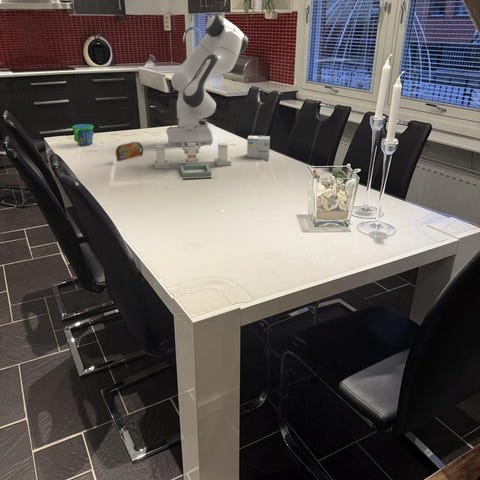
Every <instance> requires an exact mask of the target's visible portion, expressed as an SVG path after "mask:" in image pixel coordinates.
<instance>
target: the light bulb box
mask: <svg viewBox="0 0 480 480" xmlns="http://www.w3.org/2000/svg"><path fill="white" fill-rule="evenodd" d="M270 139H271V136H270V135H268V136H267V135H248V137H247V141H246V143H247V147H246V148H247V149H246V150H247V151H246V152H247V153H246V158H260V159H262V161H269V159H270V143H271V142H270V141H271V140H270Z"/></svg>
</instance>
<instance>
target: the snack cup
mask: <svg viewBox="0 0 480 480" xmlns="http://www.w3.org/2000/svg"><path fill="white" fill-rule="evenodd" d="M71 127H72V131H73V132H74V133H73V134H74V135H73V140H74V142H76V143H77V145H78V146H80V147H87V146H88V147H89V146H91V145H93V141H94V140H93V137H94V134H95V133H94V128H95V127H94V125H93V124H89V123H80V124H74V125H73V126H71Z"/></svg>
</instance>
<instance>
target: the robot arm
mask: <svg viewBox="0 0 480 480" xmlns="http://www.w3.org/2000/svg"><path fill="white" fill-rule="evenodd" d="M205 32H206V34H205V35H204V36H203V37H202V39H201V40H200V41H199V43H198V44H197V46H196V47H195V48H194V50H193V51H192V52H191V54H190V55H189V56H188V57H187V58H186V59H185V60H184V61H183V63H182V64H181V65H180V66H179V67H178V68H177V69H176V70H175V72H174V73H173V75H172V76H171V81H170V82H171V86H172V87H173V88H174V89H173V90H175V91H177V92H178V95H177V101H176V125H177V126H169V127H167V128H166V130H165V131H166V135H167V145H168V146H169V147H181V149H182V150H183V152H184V154H186V155H187V154H188V149H187V143H188V142H195V143H196V154H200V149H201V147H202V146H211V145H212V144H213V141H214V137H213V133H212V130H211V128H210V127H209V122H208V121H206V120H204V119H207V118H210V117H211V116H212V115H214V113H215V112H216V109H217V103H216V101H215V99H214V98H212V96H211V94H209V93H208V92H207V91H206V89H205V88H206V84H207V83H208V81H209V78H210V77H211V75H212V74H213V72H215V73H218V74H227V73H230V72H231V71H232V70H233V68H235V65H236V63H237V62H238V58H239V56H240V55H241V54H242V53H244V52H245V50H246V49H247V47H248V44H249V38H248V37H247V35H246V34H245V33H244V32H242V31H241V29H239V27H237V25H235V24H234V23H232V22H231V21H229V20H228V19H226V18H225V17H224V16H223V15H221V14H219V13H215V14H213V15H211V17H210V18H209V19H208V20H207V22H206V25H205Z"/></svg>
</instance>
